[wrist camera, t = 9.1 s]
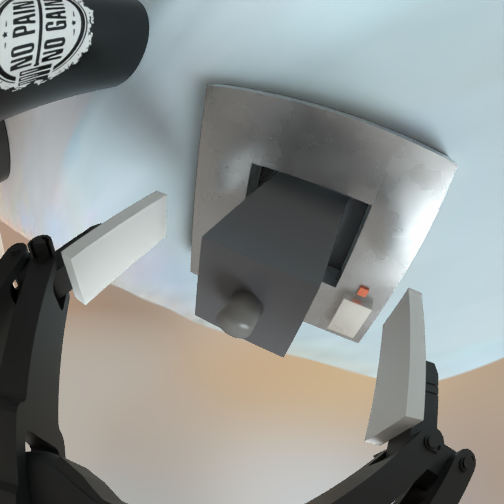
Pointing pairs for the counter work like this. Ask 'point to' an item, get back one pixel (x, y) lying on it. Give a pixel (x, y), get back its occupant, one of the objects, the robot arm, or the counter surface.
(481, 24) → the counter surface
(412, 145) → the socket
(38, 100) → the water bottle
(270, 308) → the plug
